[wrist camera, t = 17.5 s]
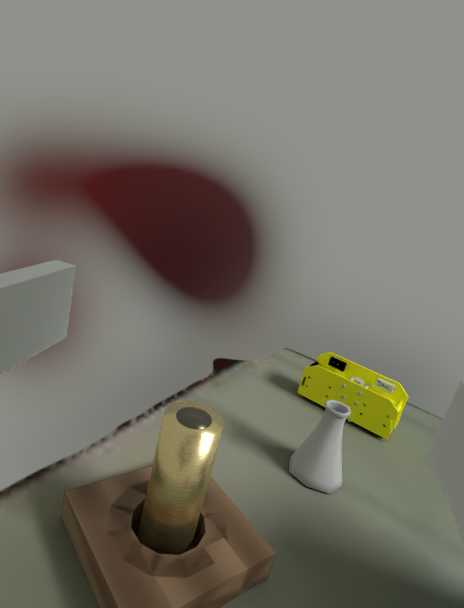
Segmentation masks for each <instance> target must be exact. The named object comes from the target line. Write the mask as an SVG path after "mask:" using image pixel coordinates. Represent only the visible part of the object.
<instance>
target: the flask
mask: <svg viewBox="0 0 464 608" xmlns="http://www.w3.org/2000/svg"><path fill="white" fill-rule="evenodd" d="M350 414H351V411H350V407H348V406H347V405H345V404H343V403H342V402H339V401H336V400H332V399H330V400H328V401H326V402H325V412H324V415H323V417H322V419H321V421H320V422H319V424H318V426H317V427H316V429H315V430H314V431H313V432H312V433H311V434H310V436H309V437H308V438H307V439H306V440H305V441H304V443H303V444H302V445H301V446H300V447H299V448H298V449H297V450H296V451H295V452H294V453H293V455H292V456H291V457H290V458H289V472H290V473H291V474H292V475H293V476H294V477H296V478H297V479H298V480H299V481H300V482H302V483H303V484H304V485H305V486H307V487H309V488H313V489H316V490H319V491H322V492H325V493H329V494H331V493H332V492H333V491H335V490H336V489H338V488H339V487H341V486H342V461H341V438H342V432H343V426H344V423H345V420H346V417H348V416H349V415H350Z"/></svg>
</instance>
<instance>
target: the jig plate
mask: <svg viewBox="0 0 464 608" xmlns="http://www.w3.org/2000/svg"><path fill="white" fill-rule="evenodd" d="M151 470H152V466H150V467H147V468H143V469H140V470H136V471H133V472H129V473H126V474H122V475H119V476H116V477H112V478H109V479H105V480H102V481H98V482H95V483H92V484H88V485H85V486H81V487H78V488H74V489H71V490H67V491H65V492H64V499H63V506H62V513H61V519H62V521H63V523H64V526H65V528H66V530H67V533H68V535H69V537H70V540H71V542H72V544H73V547H74V549H75V551H76V554H77V556H78V558H79V561H80V563H81V565H82V568H83V570H84V572H85V575H86V577H87V579H88V582H89V584H90V586H91V589H92V591H93V593H94V596H95V598H96V600H97V603H98V605H99V607H100V608H218V607H220V606H222V605H223V604H225V603H227V602H228V601H230V600H232V599H233V598H235V597H237V596H238V595H240V594H242V593H243V592H245V591H247V590H248V589H250V588H251V587H253V586H255V585H256V584H258V583H260V582H261V581H263V580H265V579H266V578H267V577H268V574H269V571H270V569H271V566H272V563H273V560H274V557H275V554H276V553H275V552H274V550H273V549H272V548H271V547H270V546H269V544H268V543H267V542H266V541H265V540H264V539H263V537H262V536H261V535H260V534H259V533H258V532H257V530H256V529H255V528H254V527H253V526H252V524H251V523H250V522H249V521H248V520H247V519H246V517H245V516H244V515H243V514H242V513H241V511H240V510H239V509H238V508H237V507H236V506H235V504H234V503H233V502H232V501H231V500H230V499H229V497H228V496H227V495H226V494H225V493H224V491H223V490H222V489H221V488H220V487H219V486H218V484H217V483H216V482H215V481H214V480H213V479H212V477H211V476H210V478H209V482H208V486H207V490H206V493H205V497H204V501H203V505H202V508H201V512H200V516H199V520H198V523H197V527H196V531H195V535H194V537H195V538H196V540H197V542H198V546H197V547H196V548H193V549H191V550H189V551H187V552H185V553H183V554H181V555H171V554H158V553H156V552H154V551H153V550H151V549H149V548H147V547H146V546H144V545H142V544H140V542H139V540H138V539H137V537H136V535H135V534H134V532H133V529H134V528H135V527H136V526H137V525H138V524H139V523H140V521H141V517H142V512H143V507H144V503H145V498H146V493H147V489H148V484H149V480H150V475H151Z"/></svg>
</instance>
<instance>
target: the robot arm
mask: <svg viewBox="0 0 464 608" xmlns="http://www.w3.org/2000/svg"><path fill="white" fill-rule="evenodd" d="M75 267H76V266H75V265H71V264H68V263H65V262H61V261H58V260H54V261H50V262H46V263H42V264H38V265H34V266H30V267H26V268H22V269H18V270H14V271H10V272H6V273H3V274H0V375H1V374H3V373H4V372H6V371H8V370H10V369H11V368H13V367H15V366H17V365H19V364H20V363H22V362H24V361H26V360H27V359H29V358H31V357H33V356H34V355H36V354H38V353H40V352H41V351H43V350H45V349H47V348H48V347H50V346H52V345H54V344H55V343H57V342H59V341H61V340H63V339H64V338H66V337H67V329H68V321H69V314H70V306H71V297H72V291H73V283H74V276H75ZM428 456H429V458H430V460H431V463H432V465H433V468H434V470H435V473H436V475H437V478H438V480H439V483H440V485H441V487H442V490H443V492H444V495H445V497H446V500H447V502H448V505H449V507H450V510H451V512H452V515H453V517H454V519H455V522H456V524H457V527H458V529H459V532H460V534H461V537H462V539H463V542H464V381H460V383H459V386H458V388H457V390H456V392H455V394H454V397H453V399H452V401H451V403H450V406H449V408H448V410H447V412H446V414H445V417H444V419H443V421H442V423H441V425H440V428H439V430H438V432H437V434H436V437H435V439H434V441H433V443H432V445H431V448H430V450H429V452H428Z"/></svg>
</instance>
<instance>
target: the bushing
mask: <svg viewBox="0 0 464 608" xmlns="http://www.w3.org/2000/svg"><path fill="white" fill-rule="evenodd" d="M223 426H224V422H223V419H222V417H221V416H220V415H219V413H218V412H216V411H215V410H214V409H212V408H210V407H209V406H206V405H204V404H201V403H197V402H190V401H182V402H176V403H173V404H171V405H169V406H168V407H167V408H166V409H165V411H164V415H163V419H162V424H161V429H160V433H159V438H158V443H157V447H156V452H155V456H154V461H153V466H152V470H151V475H150V480H149V484H148V489H147V493H146V498H145V503H144V507H143V512H142V517H141V521H140V526H139V530H138V535H137V539H138V540H139V542H140V544H142V545H144V546H146V547H147V548H149V549H151V550H153V551H154V552H156V553H158V554H171V555H181V554H183V553H185V552H187V551H189V550H190V549H191V546H192V542H193V538H194V535H195V531H196V527H197V523H198V520H199V516H200V512H201V508H202V505H203V501H204V497H205V493H206V490H207V486H208V482H209V478H210V475H211V471H212V467H213V464H214V460H215V456H216V452H217V449H218V445H219V441H220V437H221V434H222V430H223Z"/></svg>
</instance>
